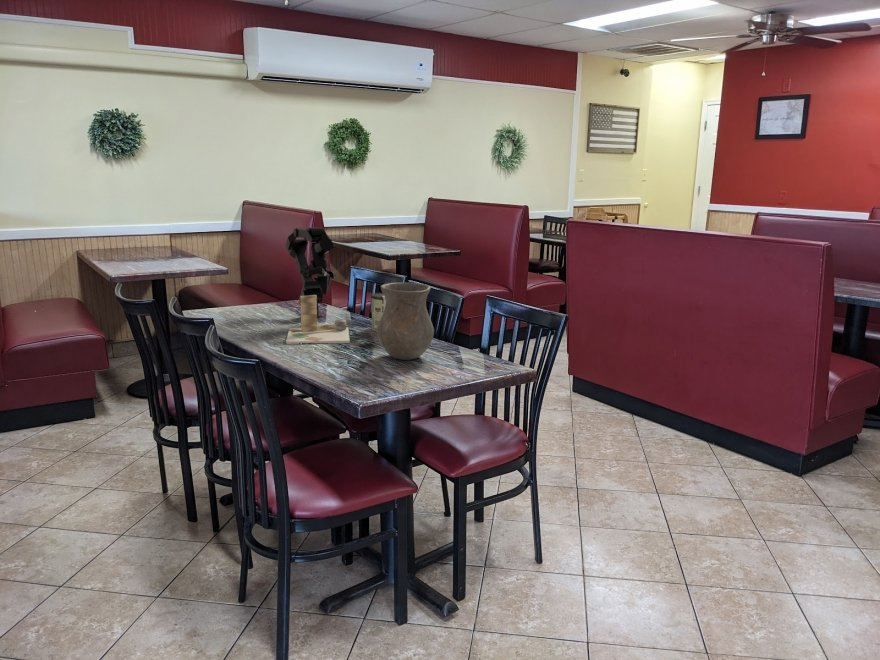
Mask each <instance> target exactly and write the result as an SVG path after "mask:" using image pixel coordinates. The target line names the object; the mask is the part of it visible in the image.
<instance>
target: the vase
mask: <svg viewBox="0 0 880 660" xmlns="http://www.w3.org/2000/svg"><path fill="white" fill-rule="evenodd" d="M380 290H381V291H382V292H381V293H383V294H384V296H385V299H386V306H385V309H384V312H383V315H382V317H381V320H380V322H379V325H378V327H377V331H376V335H377V338H378V341H379V344H380V345H381V347H382V348H383V350H384V351H385V352H386V353H387V354H388V355H389V356H391V357H392V358H394V359H396V360H401V361H411V360H416V359H418V358H420V357H421V356H422V355H423V354H424V353H426V351H427V350H428V348H429V346H430V345H431V344H432V341H433V338H434V334H435V328H434V325H433V322H432V319H431V317H430V314H429V313H428V309H427V298H428V295H429V293H430V292H431V286H430V285H428V284H424V283H416V282H401V281H400V282H390V283H389V282H388V283H384V284H382V285H380Z"/></svg>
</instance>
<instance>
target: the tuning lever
mask: <svg viewBox="0 0 880 660" xmlns="http://www.w3.org/2000/svg"><path fill="white" fill-rule="evenodd" d="M299 297H300V298H301V303H300V328H301V330H294V331H291V332H292V333H293V332H302V333H305V332H315V331H324V330H333V329H338V330H344V329H346V327H347V320H345V319H335V320H334V323H329V324H328V323H327V324H319V325H318V318H317V295H309V296H300V295H299Z"/></svg>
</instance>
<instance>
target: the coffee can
mask: <svg viewBox="0 0 880 660" xmlns="http://www.w3.org/2000/svg"><path fill="white" fill-rule="evenodd" d="M383 295H384V294H383V292H377V293H372V294H371V295H370V296H371V331H373V330H375V331H374V332H377V327H378V325H379V322H380V320H381V317H382V297H383Z"/></svg>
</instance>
